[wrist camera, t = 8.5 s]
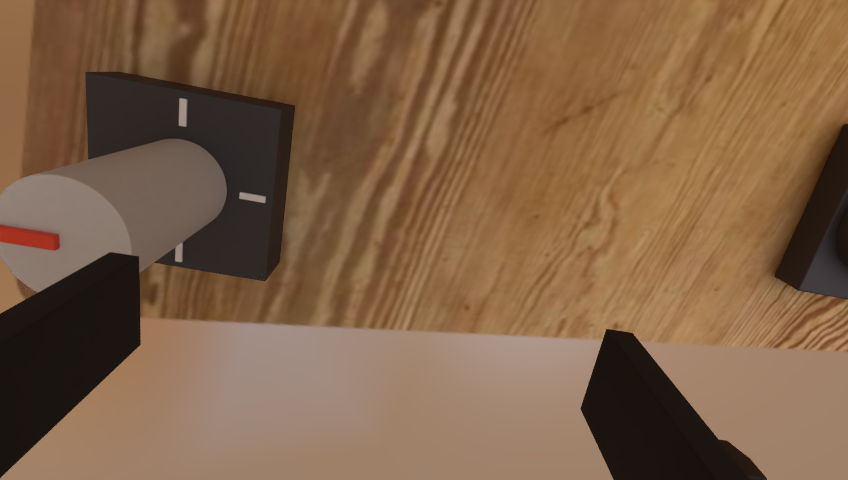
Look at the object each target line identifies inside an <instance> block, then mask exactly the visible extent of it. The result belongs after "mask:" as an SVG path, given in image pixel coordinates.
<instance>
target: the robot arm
mask: <svg viewBox="0 0 848 480" xmlns="http://www.w3.org/2000/svg"><path fill="white" fill-rule="evenodd" d="M139 345H140V280H139V256H133V255H127V254H121V253H114V252H109V253H108V254H106V255H104V256H102V257H100V258H99V259H97V260H95V261H93V262H92V263H90V264H88V265H86V266H84V267H83V268H81V269H79V270H77V271H76V272H74V273H72V274H70V275H68V276H67V277H65V278H63V279H61V280H60V281H58V282H56V283H54V284H52V285H51V286H49V287H47V288H45V289H44V290H42V291H40V292H38V293H36V294H35V295H33V296H31V297H29V298H28V299H26V300H24V301H22V302H21V303H19V304H17V305H15V306H13V307H12V308H10V309H8V310H6V311H5V312H3V313H1V314H0V478H1V477H2V476H3V475H4V474H5V472H7V471H8V470H9V469H10V468H11V467H12V466H13V465H14V464H15V463H16V462H17V461H18V460H19V459H20V458H22V457H23V456H24V455H25V453H27V452H28V451H29V450H30V449H31V448H32V447H33V446H34V445H35V444H36V443H37V442H38V441H39V440H40V439H41V438H42V437H44V436H45V435H46V434H47V433H48V432H49V431H50V430H51V429H52V428H53V427H54V426H55V425H56V424H57V423H58V422H59V421H61V419H63V418H64V417H65V416H66V415H67V414H68V413H69V412H70V411H71V410H72V409H73V408H74V407H75V406H76V405H77V404H78V403H79V402H81V401H82V399H84V398H85V397H86V396H87V395H88V394H89V393H90V392H91V391H92V390H93V389H94V388H95V387H96V386H97V385H98V384H99V383H100V382H102V381H103V380H104V379H105V378H106V377H107V376H108V375H109V374H110V373H111V372H112V371H113V370H114V369H115V368H116V367H117V366H118V365H119V364H121V363H122V362H123V361H124V359H126V358H127V357H128V356H129V355H130V354H131V353H132V352H133V351H134V350H135V349H136V348H137V347H138V346H139ZM581 411H582V413H583V415H584V417H585V419H586V421H587V424H588V426H589V428H590V430H591V432H592V434H593V436H594V438H595V440H596V443H597V445H598V447H599V449H600V451H601V453H602V456H603V457H604V460H605V462H606V464H607V466H608V468H609V470H610V473H611V475H612V477H613V479H614V480H767V478H766V477H765V476H764V475H763V473H762V472H761V471H760V470H759V469H758V468H757V466H756V465H755V464H754V463H753V462H752V461H751V459H750V458H748V457H747V456H746V455H744V454H743V453H742V452H741V451H739V450H738V449H737V448H736V447H734V446H733V445H732V444H731V443H729V442H728V441H724V440H718V438H717V437H716V436H715V435H714V433H713V432H712V431H711V430H710V429H709V427H708V426H707V425H706V424H705V422H704V421H703V420H702V419H701V418H700V416H699V415H698V414H697V412H696V411H695V410H694V409H693V407H692V406H691V405H690V404H689V403H688V401H687V400H686V399H685V398H684V396H683V395H682V394H681V393H680V391H679V390H678V389H677V388H676V387H675V385H674V384H673V383H672V381H671V380H670V379H669V378H668V377H667V375H666V374H665V373H664V372H663V370H662V369H661V368H660V367H659V366H658V364H657V363H656V362H655V360H654V359H653V358H652V357H651V355H650V354H649V353H648V352H647V351H646V349H645V348H644V347H643V346H642V344H641V343H640V342H639V341H638V339H637V338H636V337H635V336H634V334H633V333H629V332H623V331H616V330H610V329H606V332H605V335H604V338H603V341H602V344H601V348H600V351H599V354H598V357H597V360H596V363H595V366H594V369H593V372H592V375H591V378H590V381H589V385H588V387H587V390H586V394H585V397H584V400H583V403H582V406H581Z"/></svg>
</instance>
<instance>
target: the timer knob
mask: <svg viewBox="0 0 848 480" xmlns="http://www.w3.org/2000/svg"><path fill="white" fill-rule="evenodd" d="M226 195H227V186H226V180H225V176H224V174H223V171H222V169H221V167H220V166H219V164H218V163H217V161H216V160H215V159H214V157H213V156H212V155H211V154H210V153H208V152H207V151H206V150H205V149H203V148H202V147H200V146H199V145H197V144H195V143H192V142H190V141H186V140H182V139H164V140H160V141H156V142H153V143H149V144H145V145H141V146H138V147H134V148H130V149H127V150H123V151H119V152H115V153H112V154H108V155H104V156H101V157H97V158H93V159H89V160H86V161H82V162H78V163H74V164H71V165H67V166H63V167H60V168H56V169H52V170H48V171H45V172H41V173H37V174H34V175H30V176H27V177H23V178H21V179H19V180H17V181H15V182H13V183H12V184H11V185H9V186H8V187H7V188H6V189H5V190H4V191H3V192H2V193H1V195H0V257H1V258H2V260H3V262H4V263H5V265H6V266H7V267H8V268H9V270H10V271H11V272H12V273H13V274H14V275H15V276H16V277H17V278H18V279H19V280H20V281H22V282H23V283H24V284H25V285H27V286H28V287H30V288H31V289H33V290H35V291H36V292H40V291H42V290H44V289H45V288H47V287H49V286H51V285H52V284H54V283H56V282H58V281H60V280H61V279H63V278H65V277H67V276H68V275H70V274H72V273H74V272H76V271H77V270H79V269H81V268H83V267H84V266H86V265H88V264H90V263H92V262H93V261H95V260H97V259H99V258H100V257H102V256H104V255H106V254H108V253H109V252H114V253H121V254H127V255H133V256H139V273H140V272H142V271H143V270H144V269H146V268H147V267H148V266H150V265H151V264H153V263H154V262H155V261H157V260H158V259H160V258H161V257H162V256H164V255H165V254H167V253H168V252H169V251H171V250H172V249H173V248H175V247H176V246H178V245H179V244H180V243H182V242H183V241H185V240H186V239H187V238H189V237H190V236H192V235H193V234H194V233H196V232H197V231H198V230H200V229H201V228H203V227H204V226H205V225H207V224H208V223H210V222H211V221H212V220H213V219H215V218H216V217H217V216H218V214H219V213H220V212H221V210H222V209H223V206H224V204H225V201H226Z"/></svg>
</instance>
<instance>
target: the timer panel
mask: <svg viewBox="0 0 848 480" xmlns="http://www.w3.org/2000/svg"><path fill="white" fill-rule="evenodd" d="M86 100H87V130H88V160H89V159H93V158H97V157H101V156H104V155H108V154H112V153H115V152H119V151H123V150H127V149H130V148H134V147H138V146H141V145H145V144H149V143H153V142H156V141H160V140H164V139H182V140H186V141H190V142H192V143H195V144H197V145H199V146H200V147H202V148H203V149H205V150H206V151H207V152H208V153H210V154H211V155H212V156H213V157H214V159H215V160H216V161H217V163H218V164H219V166H220V167H221V169H222V171H223V174H224V176H225V180H226V186H227V195H226V201H225V204H224V206H223V209H222V210H221V212H220V213H219V214H218V216H217V217H216V218H215V219H213V220H212V221H211V222H210V223H208V224H207V225H205V226H204V227H203V228H201V229H200V230H198V231H197V232H196V233H194V234H193V235H192V236H190V237H189V238H187V239H186V240H185V241H183V242H182V243H180V244H179V245H178V246H176V247H175V248H173V249H172V250H171V251H169V252H168V253H167V254H165V255H164V256H162V257H161V258H160V259H158V260H157V261H155V262H154V263H160V264H166V265H172V266H178V267H184V268H190V269H196V270H202V271H208V272H213V273H219V274H225V275H231V276H237V277H243V278H249V279H255V280H261V281H266V280H267V278H268V277H269V276H270V274H271V273H272V271H273V270H274V269H275V267H276V266H277V265H278V263H279V259H280V250H281V240H282V230H283V220H284V210H285V200H286V190H287V180H288V170H289V160H290V150H291V140H292V130H293V120H294V110H295V106H294V105H289V104H283V103H278V102H273V101H268V100H263V99H257V98H252V97H247V96H242V95H237V94H232V93H226V92H221V91H216V90H211V89H206V88H200V87H195V86H190V85H185V84H180V83H174V82H169V81H164V80H159V79H154V78H148V77H143V76H138V75H133V74H128V73H122V72H86Z"/></svg>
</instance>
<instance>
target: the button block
mask: <svg viewBox="0 0 848 480" xmlns="http://www.w3.org/2000/svg"><path fill="white" fill-rule="evenodd" d="M775 277H776V278H778V279H780V280H782V281H783V282H785V283H787V284H788V285H790V286H792V287H794V288H795V289H797V290H799V291H805V292H811V293H816V294H822V295H827V296H833V297H838V298H844V299H848V124H845V125H844V126H843V129H842V131H841V133H840V135H839V137H838V140H837V142H836V144H835V146H834V148H833V150H832V153H831V155H830V157H829V159H828V161H827V163H826V166H825V168H824V170H823V172H822V174H821V177H820V179H819V181H818V183H817V185H816V187H815V190H814V192H813V194H812V196H811V198H810V201H809V203H808V205H807V207H806V209H805V211H804V214H803V216H802V218H801V220H800V222H799V225H798V227H797V229H796V231H795V233H794V235H793V238H792V240H791V242H790V244H789V246H788V248H787V251H786V253H785V255H784V257H783V259H782V262H781V264H780V266H779V268H778V270H777V272H776V275H775Z"/></svg>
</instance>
